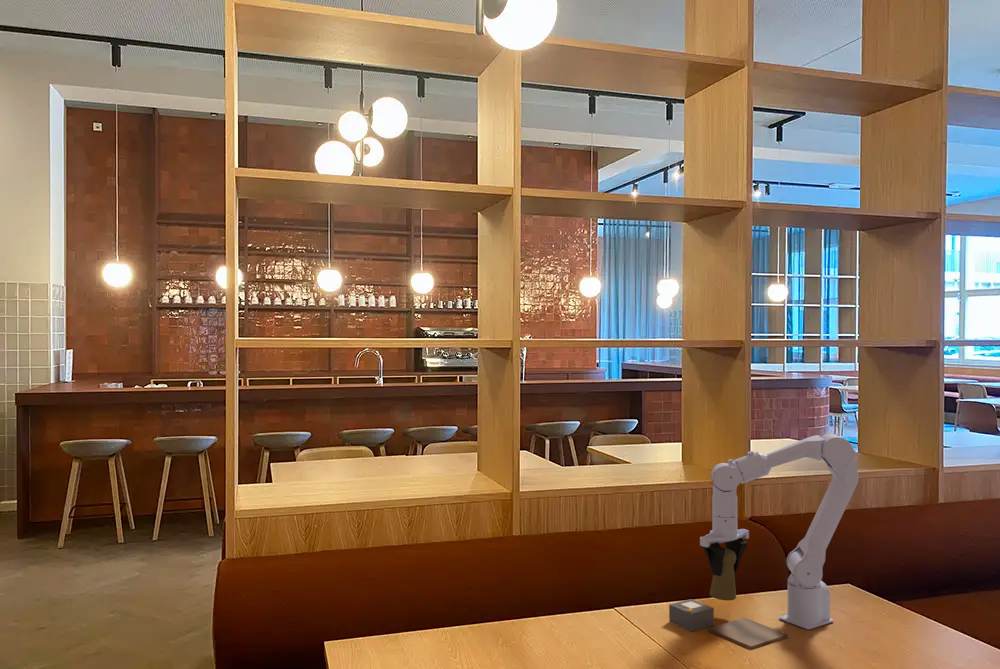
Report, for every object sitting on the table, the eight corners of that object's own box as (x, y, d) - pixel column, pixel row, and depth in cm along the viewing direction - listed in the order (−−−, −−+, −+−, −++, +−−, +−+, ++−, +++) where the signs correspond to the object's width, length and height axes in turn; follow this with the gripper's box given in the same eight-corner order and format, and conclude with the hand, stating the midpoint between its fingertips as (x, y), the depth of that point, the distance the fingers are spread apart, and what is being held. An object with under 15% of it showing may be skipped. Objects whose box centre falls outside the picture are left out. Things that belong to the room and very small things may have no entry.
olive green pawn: (737, 601, 178) (739, 554, 178) (710, 598, 179) (712, 551, 179) (735, 593, 184) (737, 547, 183) (709, 589, 185) (711, 544, 185)
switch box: (691, 615, 182) (691, 597, 182) (713, 625, 176) (713, 606, 176) (669, 621, 178) (669, 602, 178) (691, 631, 172) (691, 612, 172)
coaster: (744, 620, 179) (744, 617, 179) (787, 637, 169) (787, 634, 169) (707, 630, 173) (707, 628, 173) (750, 649, 162) (750, 646, 162)
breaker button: (691, 613, 179) (691, 601, 179) (702, 618, 176) (702, 605, 176) (680, 616, 177) (680, 604, 177) (691, 621, 174) (691, 608, 174)
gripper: (732, 508, 188) (732, 563, 188) (690, 515, 181) (690, 573, 181) (756, 513, 182) (756, 570, 182) (713, 521, 175) (713, 581, 175)
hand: (725, 572), depth 181 cm, fingers closed on olive green pawn, 5 cm apart
